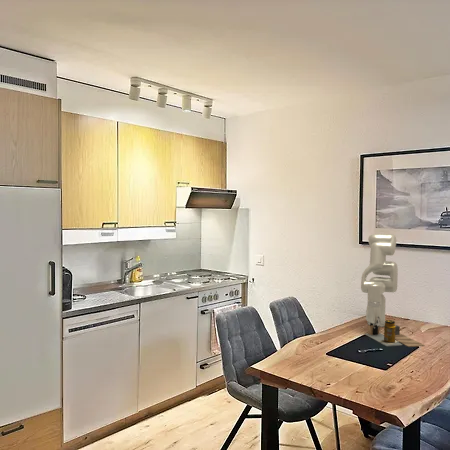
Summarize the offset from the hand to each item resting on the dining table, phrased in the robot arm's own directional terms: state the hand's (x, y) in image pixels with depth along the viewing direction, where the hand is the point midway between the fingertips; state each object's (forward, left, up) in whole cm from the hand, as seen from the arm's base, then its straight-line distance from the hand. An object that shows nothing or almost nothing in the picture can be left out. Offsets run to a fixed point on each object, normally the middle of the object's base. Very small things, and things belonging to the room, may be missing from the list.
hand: (373, 333), depth 270 cm
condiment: (+17, 0, 0) cm, 17 cm away
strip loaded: (+11, 0, -1) cm, 11 cm away
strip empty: (+14, +11, -1) cm, 18 cm away
